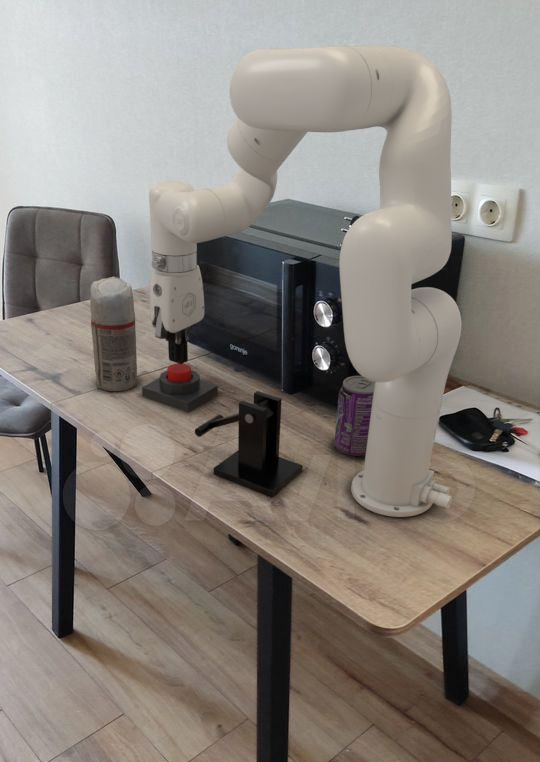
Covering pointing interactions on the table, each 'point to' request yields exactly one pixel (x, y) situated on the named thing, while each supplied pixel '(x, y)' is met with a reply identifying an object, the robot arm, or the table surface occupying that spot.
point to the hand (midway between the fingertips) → (178, 360)
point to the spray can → (113, 334)
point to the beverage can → (354, 415)
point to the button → (179, 372)
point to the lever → (228, 419)
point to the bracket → (259, 450)
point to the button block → (180, 392)
